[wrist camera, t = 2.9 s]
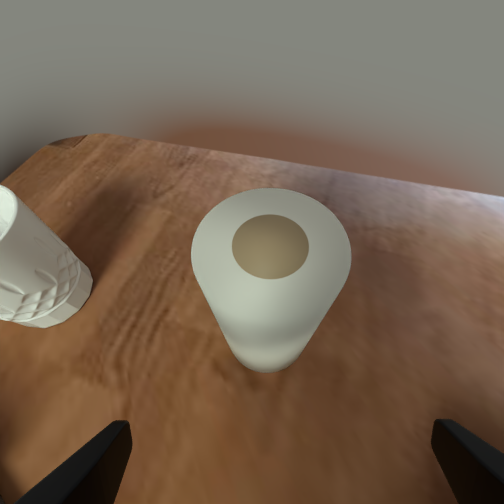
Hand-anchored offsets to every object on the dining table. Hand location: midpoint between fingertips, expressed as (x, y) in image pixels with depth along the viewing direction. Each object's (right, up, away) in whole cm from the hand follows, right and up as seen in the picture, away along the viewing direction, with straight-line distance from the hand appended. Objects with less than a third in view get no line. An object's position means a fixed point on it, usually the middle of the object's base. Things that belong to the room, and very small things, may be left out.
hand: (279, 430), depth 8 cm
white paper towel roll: (0, -1, +14) cm, 14 cm away
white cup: (-19, +1, +17) cm, 26 cm away
